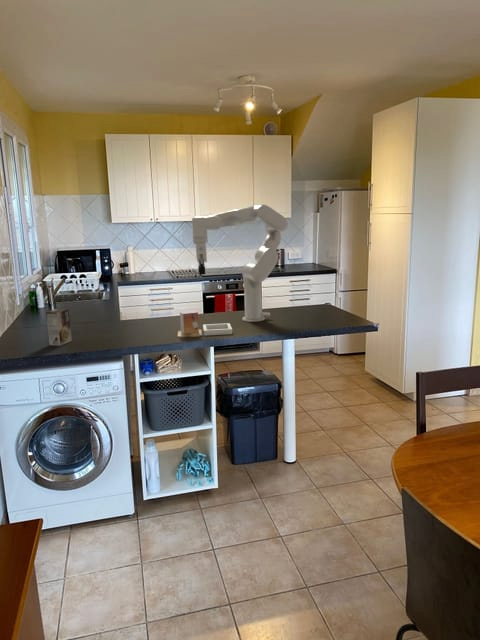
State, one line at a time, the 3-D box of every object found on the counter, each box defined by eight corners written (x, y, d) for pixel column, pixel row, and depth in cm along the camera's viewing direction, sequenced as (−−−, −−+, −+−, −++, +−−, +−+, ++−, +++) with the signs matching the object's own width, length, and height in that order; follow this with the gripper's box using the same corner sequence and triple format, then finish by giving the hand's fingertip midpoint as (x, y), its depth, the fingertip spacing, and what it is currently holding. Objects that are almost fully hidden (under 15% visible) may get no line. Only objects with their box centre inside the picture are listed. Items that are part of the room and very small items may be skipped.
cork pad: (201, 330, 250) (201, 329, 250) (202, 336, 238) (202, 334, 238) (178, 331, 249) (177, 330, 249) (177, 337, 237) (177, 336, 237)
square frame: (229, 327, 255) (229, 323, 254) (232, 333, 241) (232, 329, 240) (203, 329, 253) (202, 324, 253) (204, 335, 240) (203, 330, 239)
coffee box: (61, 340, 239) (57, 308, 235) (72, 341, 237) (69, 308, 233) (49, 345, 230) (45, 311, 227) (60, 345, 228) (56, 312, 225)
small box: (183, 334, 240) (182, 313, 238) (180, 332, 245) (179, 312, 243) (199, 332, 243) (198, 312, 241) (195, 330, 248) (194, 310, 246)
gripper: (208, 241, 245) (209, 274, 248) (206, 239, 261) (208, 271, 265) (193, 241, 244) (195, 275, 247) (192, 240, 261) (194, 272, 264)
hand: (201, 273), depth 256 cm, fingers open, 9 cm apart
